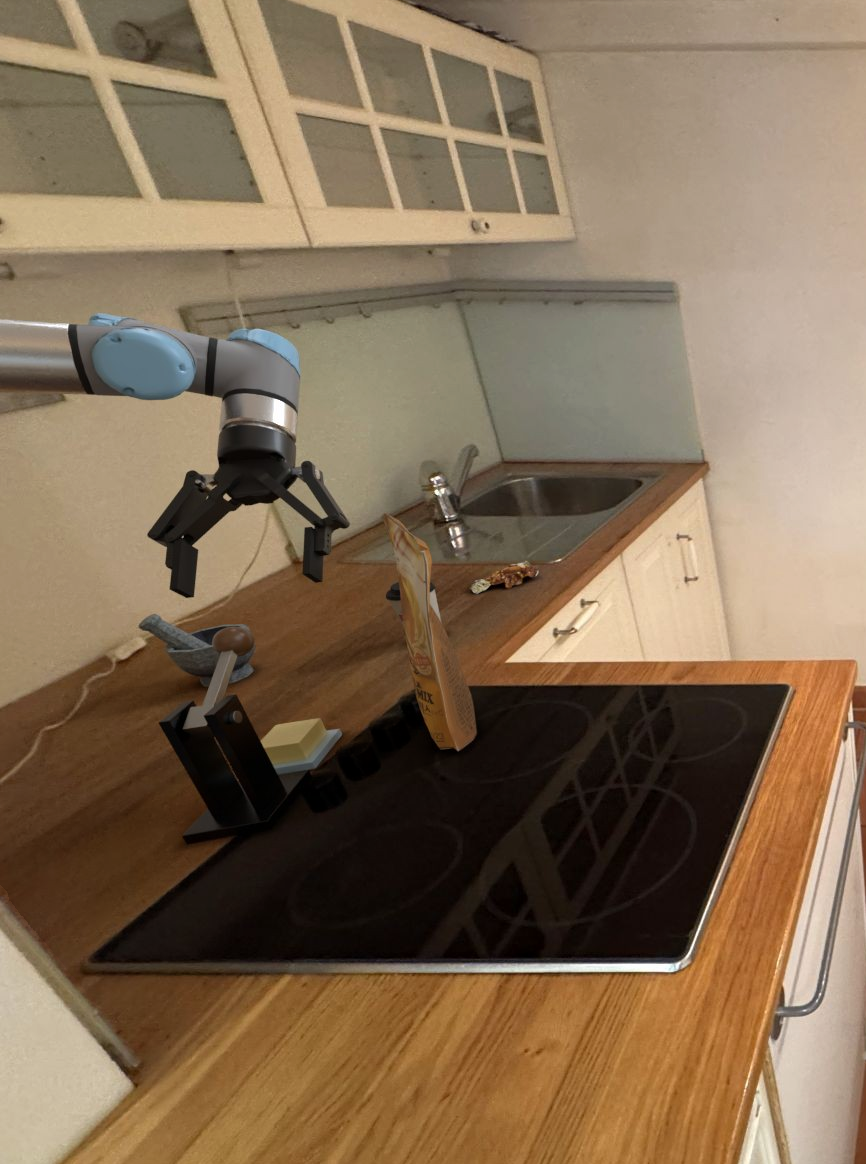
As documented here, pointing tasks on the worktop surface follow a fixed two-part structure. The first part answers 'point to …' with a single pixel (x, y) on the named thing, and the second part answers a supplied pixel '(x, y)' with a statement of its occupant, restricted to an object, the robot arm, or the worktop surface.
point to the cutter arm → (219, 677)
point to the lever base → (231, 773)
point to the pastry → (506, 576)
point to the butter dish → (299, 745)
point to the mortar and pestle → (196, 649)
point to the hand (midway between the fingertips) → (248, 586)
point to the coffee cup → (395, 600)
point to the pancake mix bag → (430, 646)
